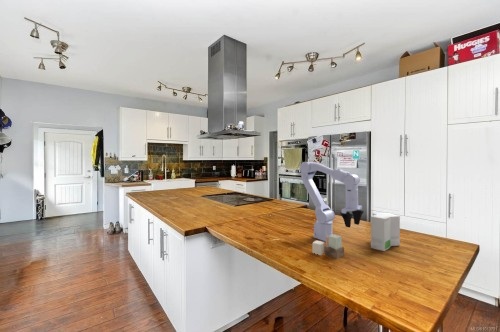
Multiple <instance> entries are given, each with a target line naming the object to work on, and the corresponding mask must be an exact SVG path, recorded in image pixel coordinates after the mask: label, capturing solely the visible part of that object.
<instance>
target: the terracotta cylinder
mask: <svg viewBox="0 0 500 332" xmlns="http://www.w3.org/2000/svg"><path fill="white" fill-rule="evenodd" d="M328 245H329V236H326V242H325V246H328Z"/></svg>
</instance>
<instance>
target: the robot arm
mask: <svg viewBox="0 0 500 332" xmlns="http://www.w3.org/2000/svg"><path fill="white" fill-rule="evenodd" d="M317 171H318V172H322V173H324V174H326V175H329V176H330V177H331V178H332V179H333V180H336V181H338V182H339V183H342V184H344V186H345V207H344V208H341V211H340V216H341V218H342V219H343V222H344V226H345V227H347V228H351V224H352V218H353V224H354V225H360V222H361V218H362V216H363V214H364V210H363V205H359V184H360V182H361V178H360V177H359V176H358V175H357V174H356V173H352V174H351V172H349V171H345V170H343V169H342V168H339V167H338V168H334V169H333V168H330V167H328V166H327V165H324V164H322V163H320V162H316V161H303V162H302V163H301V164H300V167H299V172H300V175H301V176H300V177H301V181H302V183H303V185H304V187H305V189H306V191H307V193H308V195H309V197H310V199H311V201H312V203H313V205H314V207H315V209H314V214H315V219H316V221H314V225H313V236H312V238H314V239H317V240H319V241H322V242H324V243H326V236H329V235H333V222H334V221H333V220H335V217H336V215H335V212H334V210H333V209H331V208H330V206H329V205H328V204H327V203H325V201H324V199H323V197H322V196H321V194H320V191H319V189H318V188H317V186H316V183H315V182H314V180H313V178H314V176H315V174H316V173H317Z"/></svg>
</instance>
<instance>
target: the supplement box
mask: <svg viewBox="0 0 500 332" xmlns="http://www.w3.org/2000/svg"><path fill="white" fill-rule="evenodd" d="M373 215H385V216H391V217H390V242H391V247H396V246H401V236H400V235H401V233H400V232H401V222H400V220H401V217H400V215H396V214H393V213H390V212H372V216H373Z"/></svg>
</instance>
